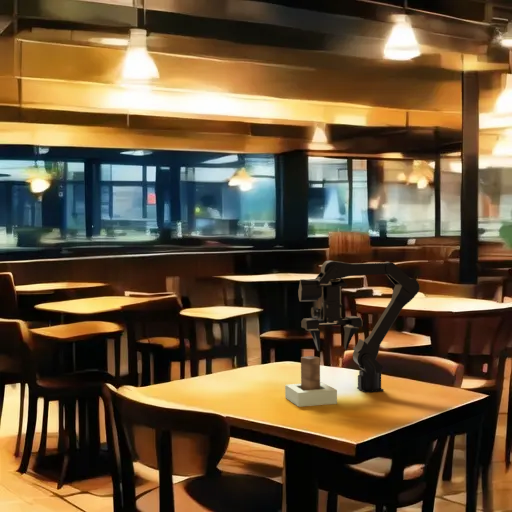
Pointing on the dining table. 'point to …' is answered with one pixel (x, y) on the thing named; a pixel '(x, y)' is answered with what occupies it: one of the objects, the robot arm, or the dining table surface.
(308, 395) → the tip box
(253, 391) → the dining table surface
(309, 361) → the walnut block
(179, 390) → the dining table surface
